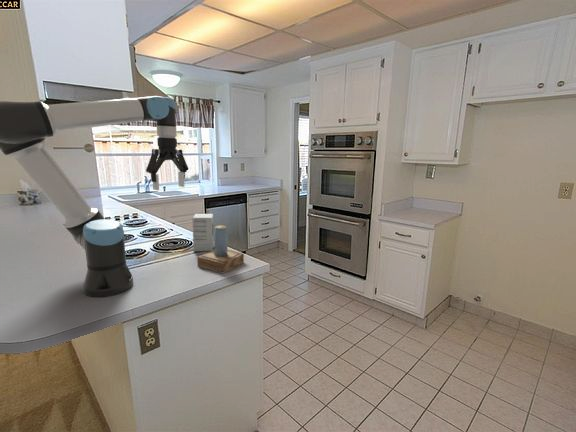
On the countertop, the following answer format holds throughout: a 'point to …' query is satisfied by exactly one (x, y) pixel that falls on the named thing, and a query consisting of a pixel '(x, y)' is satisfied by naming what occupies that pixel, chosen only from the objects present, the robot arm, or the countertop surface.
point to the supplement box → (203, 232)
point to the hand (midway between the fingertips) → (169, 188)
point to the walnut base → (220, 261)
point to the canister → (220, 241)
